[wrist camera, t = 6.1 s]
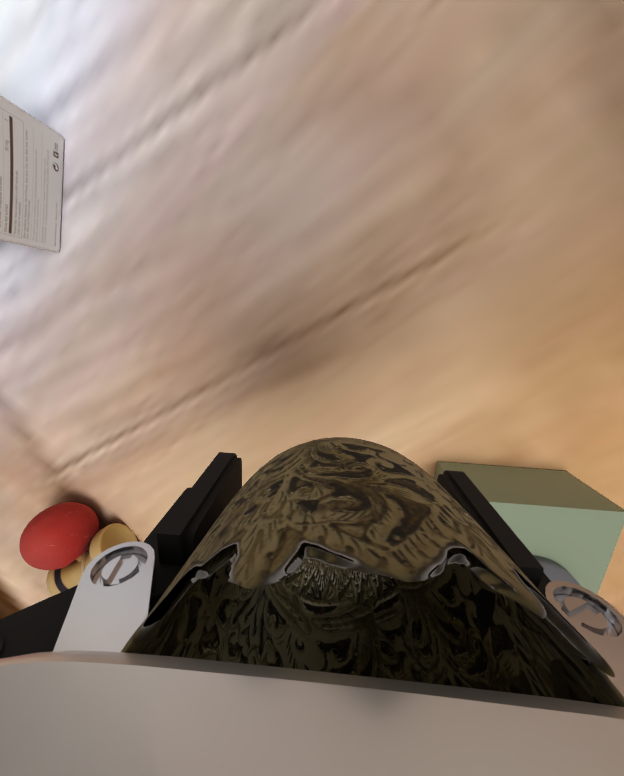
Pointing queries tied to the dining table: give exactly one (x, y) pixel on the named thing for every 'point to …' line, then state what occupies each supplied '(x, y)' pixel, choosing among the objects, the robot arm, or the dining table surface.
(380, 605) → the dark bronze domed piece
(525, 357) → the dining table surface
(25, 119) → the supplement box
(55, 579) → the kendama
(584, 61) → the dining table surface
